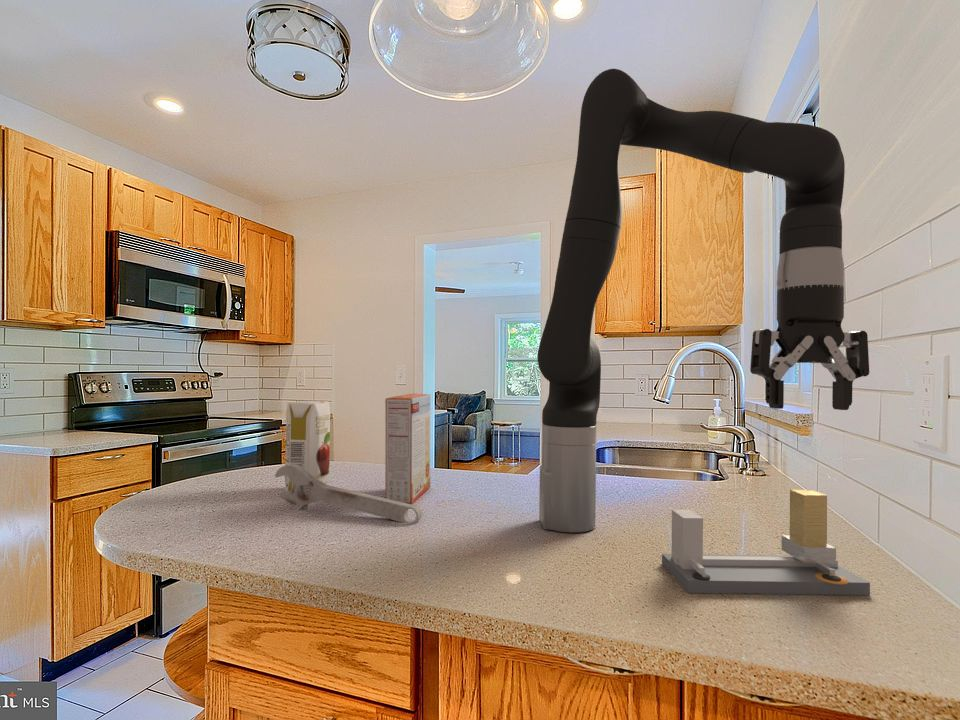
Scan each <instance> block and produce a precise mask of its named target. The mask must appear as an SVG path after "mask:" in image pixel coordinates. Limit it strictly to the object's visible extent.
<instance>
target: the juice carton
mask: <svg viewBox="0 0 960 720" xmlns="http://www.w3.org/2000/svg"><path fill="white" fill-rule="evenodd" d="M286 406H287V407H286V413H285V414H286V417H285V453H284V455H285V459H284V460H285V461H284V462H285V463H284V466H286V465H289V464H298V465H300V466H302V467H303V468H304V469H305V470H306V471H307V472H309V473H310V474H311V475H312V476H313V477H315V478H317V479H318V480H320V481H321V482H323V483H324V484H326V485H329V482H330V481H329V479H330V458H331V455H330V451H331V450H330V449H331V408H330V401H327V400H326V401H323V400H322V401H321V400H302V401H299V402H287V404H286ZM284 485H285V487H284V488H285V492H286V491H291V490H292V489H293V482H292V481H291V480H290V478H289V477H288V476H287V475H284Z"/></svg>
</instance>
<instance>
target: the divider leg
mask: <svg viewBox="0 0 960 720" xmlns="http://www.w3.org/2000/svg"><path fill="white" fill-rule="evenodd" d="M781 551H783V552H784V553H786V554H788V555H791V556H793V557H794V558H796V559H798V560H799V561H801V562H803V563H804V564H815V567H816V568H818V569H820V570H821V571H823V572H825V573H826V574H828V575H830V576H835V570H834V569H832V568H830V567H829V566H827V565H825V564H836V560H837V548H836V547H835V546H832V545H830V544H828V495H827V494H825V493H821V492H819V491H816V490H813V489H789V534H781Z"/></svg>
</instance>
